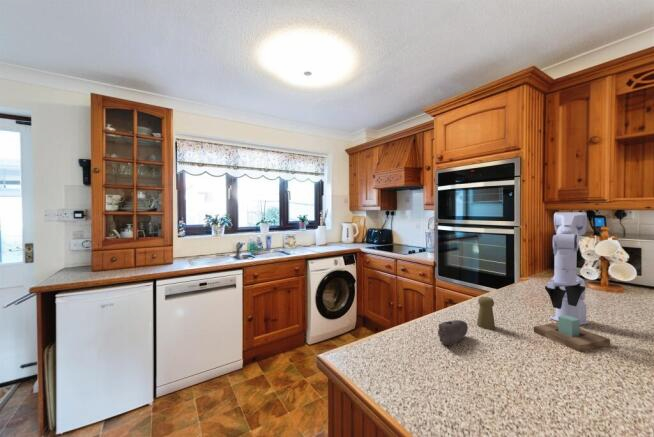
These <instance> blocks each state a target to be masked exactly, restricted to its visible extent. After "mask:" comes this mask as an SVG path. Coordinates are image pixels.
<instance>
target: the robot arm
mask: <svg viewBox="0 0 654 437" xmlns="http://www.w3.org/2000/svg"><path fill="white" fill-rule="evenodd" d="M587 214H588V213H587V212H586V211H583V212H581V211H580V212H579V211H578V212H568V211H567V212H563V211H562V212H559V211H555V213H554V214H553V225H554V231H555V233H556V234H553V236H552V250H553V255H554V261H553V262H554V264H553V265H554V267H553V268H554V269H553V270H554V271H553V272H554V273H553V274H554V275H553V277H551V278H550V280H549V281H547V282H546V285H545V286H544V289H545V291H546V292H547V294H548V296H549V298H550V301H551V305H552V308H555V316H550V317H549V319H551V320H554V321H557V322H558V317H559V316H563V315H568V316H571V317H574V318H577V319H580V326H582V325H587V324H590V322H589V321H588V320H587V304H586V303H585V301H584V300H586V282H585V280H584V279H583V278H582V277H580V276H579V275H577V262H578V261H577V260H578V258H577V253H578V250H579V247H580V246H579V245H580V244H579V241H580V239H579V238H580V236H583V235H586V231H587V225H588V224H587V222H588V220H587V218H588V217H587V216H588V215H587Z"/></svg>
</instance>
